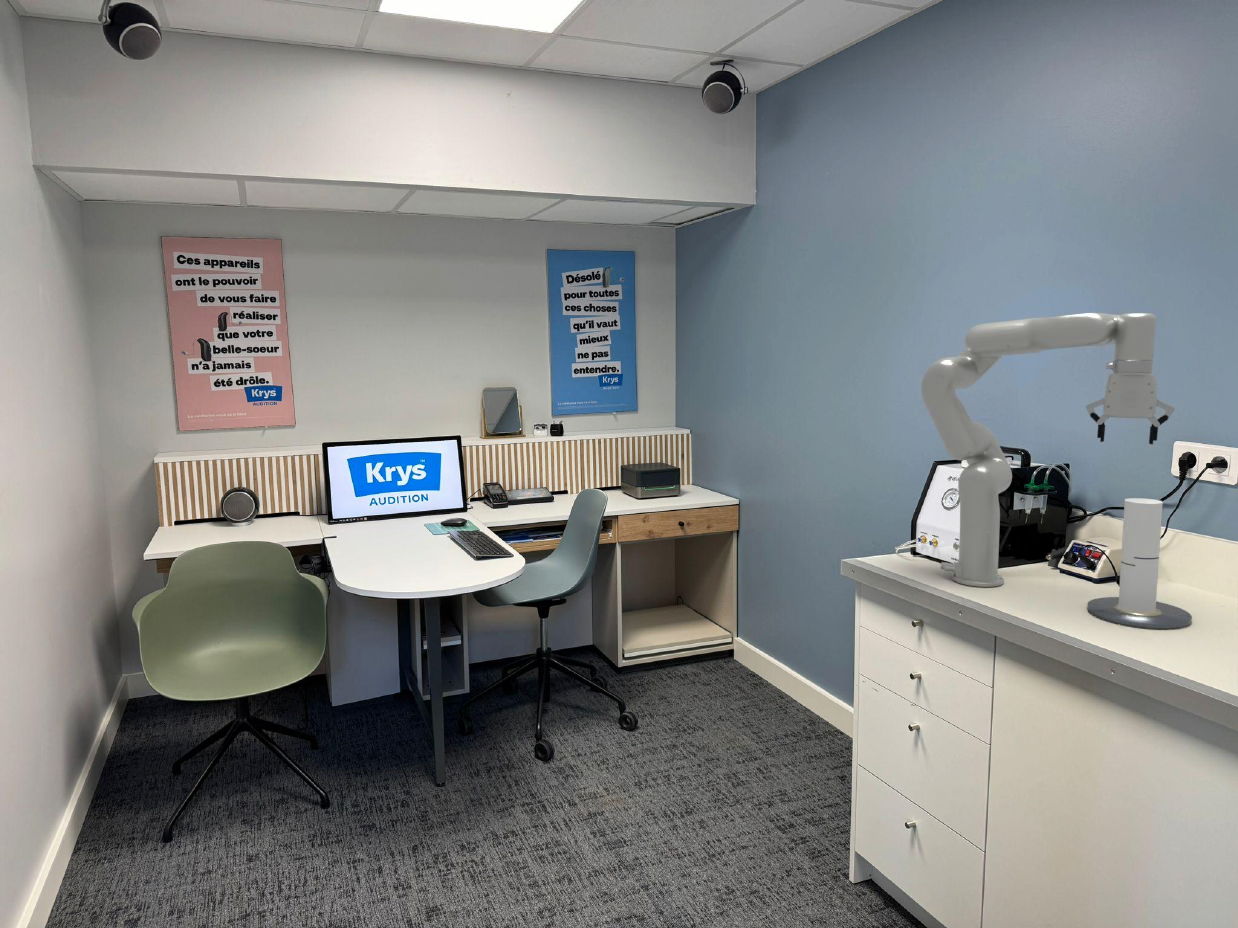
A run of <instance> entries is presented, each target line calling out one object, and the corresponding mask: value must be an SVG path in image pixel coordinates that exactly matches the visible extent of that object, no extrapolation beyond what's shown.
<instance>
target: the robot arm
mask: <svg viewBox="0 0 1238 928" xmlns="http://www.w3.org/2000/svg"><path fill="white" fill-rule="evenodd" d="M1156 330H1157V317H1156V315H1155V314H1153V313H1152V312H1151V313H1150V312H1149V313H1148V312H1136V313H1135V312H1134V313H1132V312H1131V313H1122V314H1121V315H1120V314H1109V313H1104V312H1103V313H1102V312H1086V313H1085V312H1084V313H1076V314H1068V315H1059V316H1050V317H1033V318H1024V319H1023V318H1022V319H1014V320H1006V321H1005V320H1004V321H996V322H987V323H981V324H977V325H975V326H973V327H971V328H970V329H969V330H968V331H967V333H966V335H965V337H964V338H965V339H964V343H965V349H964V350H963V351H962V352H961V353H960V354H959V355H958V356H947V357H943V358H940V359H938V360H936V361H935V362H933V363H932V364H931V365H930V366H929V367H928V368H927V370H926V371H925V373H924V374H923V377H922V380H921V385H920V391H921V393H920V394H921V397H922V401H923V403H924V405H925V407H926V409H927V412H928V413H929V415H930V417H931V419H932V421H933V425H934V426H935V428H936V430H937V433H938V435H939V436H940V439H941V441H942V444H943V445H944V448H945V449H946V452H947V453H948V455H949V456H950V457H951V458H953V459H955V460H957V461H966V462H967V466H966V467H965V468H964V469H963V470H962V471H961V473H960V474H959V478H958V487H957V488H958V496H959V512H960V513H959V541H958V542H959V544H958V560H957V562H956V561H954V562H953V563H952V562H945V561H944V562H943V561H941V564H940V570H944V571H946V572H953V573H952V574H951V579H952V581H954V582H955V581H956V583H958V584H962V585H964V584H965V586H971V587H978V588H979V587H981V588H988V587H989V588H992V587H993V588H994V587H998V586H999V587H1000V586H1002V585H1003V584H1005V578H1004V577H1003V576H1002V575H999V574H998V573H999V571H998V570H999V554H1000V553H999V548H1000V529H1001V528H1000V524H1001V523H1000V521H1001V511H1000V510H1001V508H1000V501H999V494H1001V493H1003V492H1005V491H1006V490H1007V489H1008V488H1009V487H1010V486H1011V483H1012V479H1013V473H1012V469H1011V467H1010V464H1009V462H1008V459H1007V458H1006V456H1005V454H1004V452H1003V450H1002V448H1001V446H1000V445H999V442H998V440H997V438H996V436H995V435H994V433H993V432H992V430H991V429H990V428H989V427H988V426H986V425H985V424H983V423H980V422H976V421H972V419H971V418H970V415H969V414H968V411H967V409H966V407H965V405H964V404H963V402H962V400H960V398H959V396H958V395H957V394H956V390H960V389H967V388H968V387H971V386H972V385H974V384H975V383H976V382H978V381H979V380H981V379H982V377H983V376H984V375H985V374H986V373H987V372H988V371H989V370H990V369H991V368H992V367H993V366H994V365H995V364H997V362H998V361H999V360H1000V359H1001V358H1002V357H1003V356H1013V355H1027V354H1036V353H1037V354H1039V353H1040V352H1043V351H1047V350H1055V349H1066V348H1080V347H1093V346H1094V347H1101V346H1109V345H1115V346H1114V347H1115V348H1114V358H1113V359H1114V361H1112V362H1106V365H1105V366H1106V367H1105V368H1106V369H1109V370H1112V373H1109V374H1108V377H1107V381H1106V386H1105V390H1104V397H1103V398H1100V399H1098V400H1095V401H1094V402H1091V403H1087V404H1086V406H1085V409H1086V410H1087V413H1088V415H1089V417H1090V418H1091V419H1092V420H1093V421H1094V422H1095V423H1096V424H1097V434H1096V437H1097V439H1099V441H1100V443H1103V442H1105V434H1106V424H1105V422H1106V421H1107V420H1108V419H1109V418H1116V419H1117V418H1118V419H1121V418H1122V419H1147V420H1148V421H1149V422H1150V423H1151V426H1150V427H1149V437H1148V439H1149V440H1148V444H1149V445H1153V444H1154V441H1158V433H1159V428H1160V426H1161V425H1162V424H1164V423H1165V422H1167V421H1168V420H1169V418H1170V417H1171V416H1172V415H1173V413H1174V412H1175V410H1176V409H1175V408H1174V407H1173V406H1172V405H1169V404H1167V403H1165V402H1163V401H1161V400H1159V399H1157V398H1158V397H1157V395H1158V393H1157V392H1158V388H1157V385H1158V384H1157V377H1156V374H1154V373H1152V372H1153V363H1154V352H1155V351H1154V349H1155V341H1156ZM1102 405H1103V407H1102V410H1103V412H1102V413H1103V414H1102V415H1101V416H1099V415H1098V414H1097V413H1096V411H1095V408H1097V407H1100V406H1102ZM1157 407H1158V408H1161V409H1163V410H1165V411H1164V413H1163V415H1161V416H1160V417H1159V418H1156V417H1155V415H1156V411H1157Z"/></svg>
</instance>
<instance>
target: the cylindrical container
mask: <svg viewBox="0 0 1238 928" xmlns="http://www.w3.org/2000/svg"><path fill="white" fill-rule="evenodd" d="M1163 503H1164V502H1163V501H1162V500H1160V499H1154V498H1143V497H1142V498H1140V497H1137V498H1136V497H1131V498H1125V499H1124V504H1123V505H1124V506H1123V508H1124V509H1123V522H1122V524H1123V525H1122V540H1121V542H1122V543H1121V554H1120V555H1121V556H1120V557H1121V558H1120V574H1119V588H1118V589H1119V591H1118V593H1119V594H1118V597H1119V605H1118V608H1119V609H1121V610H1123V611H1126V612H1130V613H1136V614H1153V613H1155V611H1156V601H1157V596H1158V595H1157V594H1158V593H1157V592H1158V581H1159V580H1158V579H1159V575H1158V574H1159V562H1160V548H1161V533H1162V531H1161V530H1162V517H1163V505H1164V504H1163Z"/></svg>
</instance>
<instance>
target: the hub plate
mask: <svg viewBox="0 0 1238 928" xmlns="http://www.w3.org/2000/svg"><path fill="white" fill-rule="evenodd" d="M1086 604H1087V605H1086V610H1088V611H1087V612H1088V614H1090V615H1091V614H1092V615H1091V616H1093V617H1095V616H1096V617H1095V618H1096V619H1099V618H1100V619H1099V620H1102V619H1103V620H1102V621H1104V620H1105V622H1108V621H1109V622H1108V623H1111V624H1116V625H1119V624H1120V625H1119V626H1123V627H1124V626H1125V627H1130V628H1135V629H1145V630H1159V631H1161V630H1162V631H1164V630H1165V631H1167V630H1170V631H1171V630H1180V629H1184V628H1188V627H1190V625H1191V624H1192V623H1193V622H1192V620H1193V619H1192V618H1193V617H1192V614H1191V613H1189V612H1188V611H1187V610H1185V609H1183V608H1181V607H1178V606H1175V605H1172V604H1168V603H1165V602H1162V601H1161V602H1160V601H1157V600H1156V611H1155V613H1153V614H1136V613H1130V612H1126V611H1123V610H1121V609H1119V608H1118V605H1119V596H1107V597H1106V596H1105V597H1098V598H1094V599H1091V600H1089V601H1088V602H1087V603H1086Z"/></svg>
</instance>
